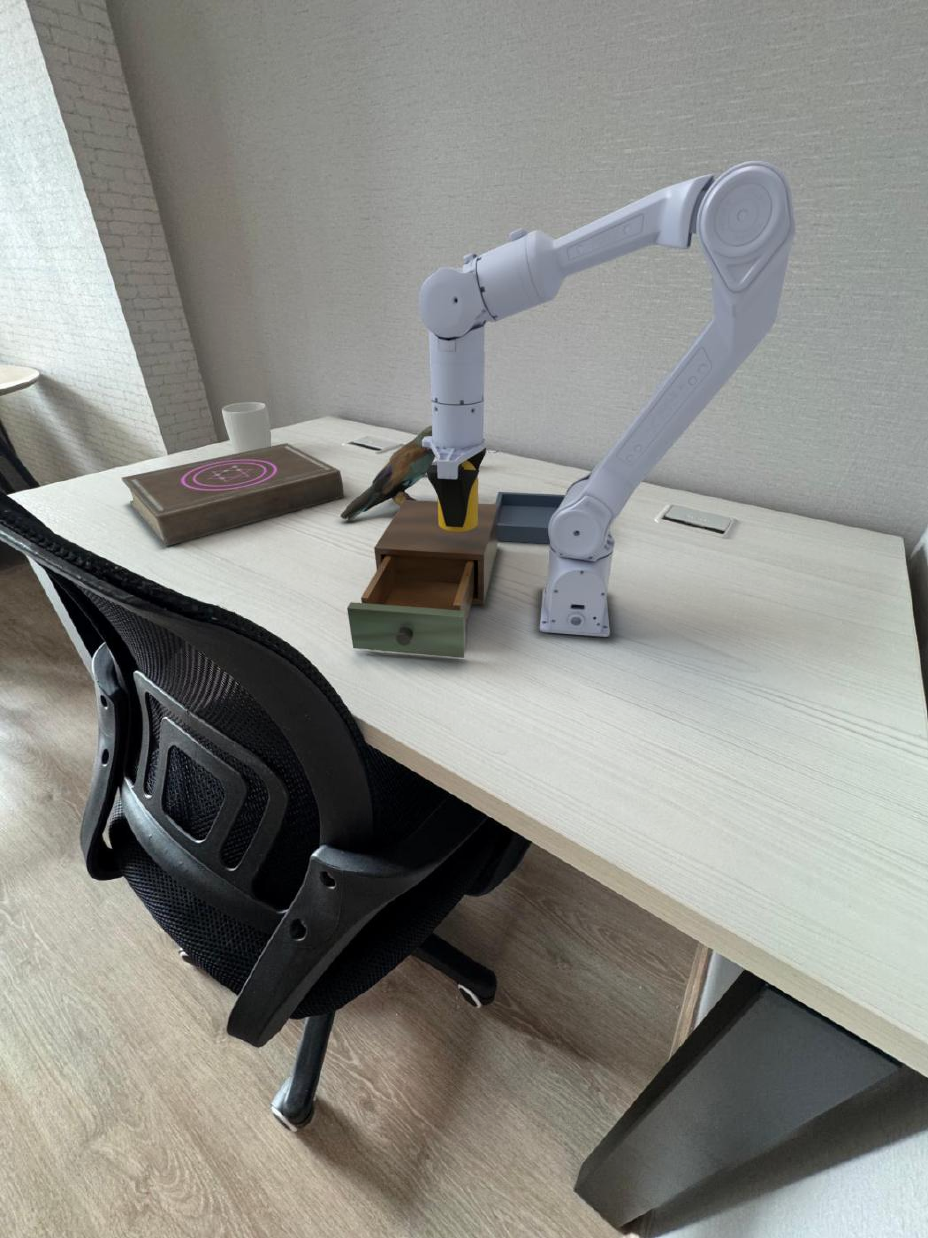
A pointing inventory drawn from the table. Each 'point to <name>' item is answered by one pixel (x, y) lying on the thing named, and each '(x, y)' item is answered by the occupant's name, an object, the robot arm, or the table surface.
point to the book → (231, 491)
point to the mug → (247, 426)
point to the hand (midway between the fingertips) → (458, 516)
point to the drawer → (415, 606)
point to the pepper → (472, 508)
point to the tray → (525, 516)
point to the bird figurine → (395, 477)
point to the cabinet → (442, 539)
